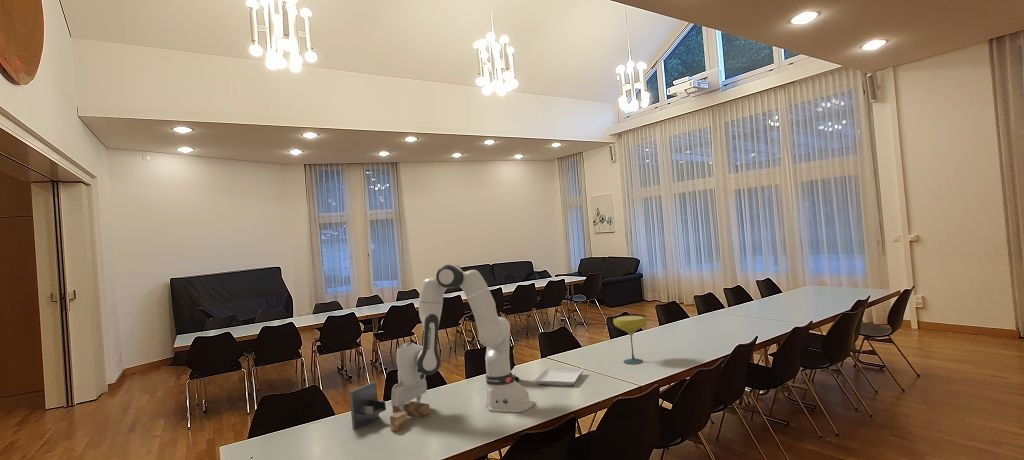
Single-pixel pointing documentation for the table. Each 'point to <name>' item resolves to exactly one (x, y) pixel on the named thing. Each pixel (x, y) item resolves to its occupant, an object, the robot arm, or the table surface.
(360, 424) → the bracket
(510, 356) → the microphone
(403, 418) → the oak post
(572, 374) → the salad plate
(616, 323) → the cocktail glass
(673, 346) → the table surface
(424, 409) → the walnut rail
